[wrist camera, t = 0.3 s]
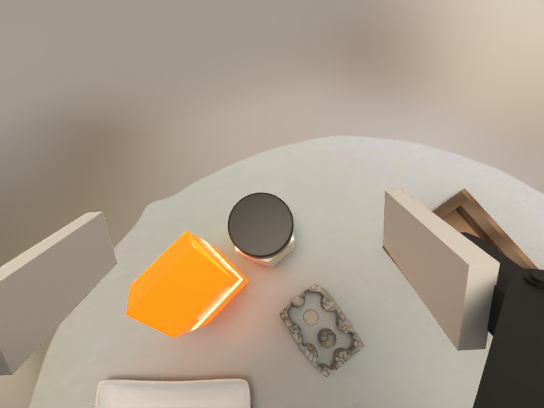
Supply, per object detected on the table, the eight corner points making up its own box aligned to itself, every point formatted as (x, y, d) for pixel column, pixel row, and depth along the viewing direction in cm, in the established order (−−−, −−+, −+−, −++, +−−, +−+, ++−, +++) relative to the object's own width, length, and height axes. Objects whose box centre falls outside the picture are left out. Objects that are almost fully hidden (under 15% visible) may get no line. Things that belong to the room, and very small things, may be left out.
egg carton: (277, 310, 48) (275, 311, 44) (317, 280, 48) (319, 279, 44) (320, 375, 45) (322, 383, 41) (362, 343, 46) (368, 348, 42)
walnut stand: (539, 275, 46) (554, 274, 44) (455, 340, 45) (465, 343, 42) (462, 190, 50) (471, 184, 48) (382, 246, 49) (387, 244, 46)
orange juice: (174, 287, 49) (98, 285, 30) (215, 246, 50) (168, 218, 31) (208, 325, 47) (151, 348, 28) (249, 281, 49) (222, 274, 29)
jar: (302, 224, 51) (306, 204, 39) (285, 273, 49) (283, 268, 37) (250, 206, 52) (239, 182, 40) (232, 253, 50) (214, 242, 38)
